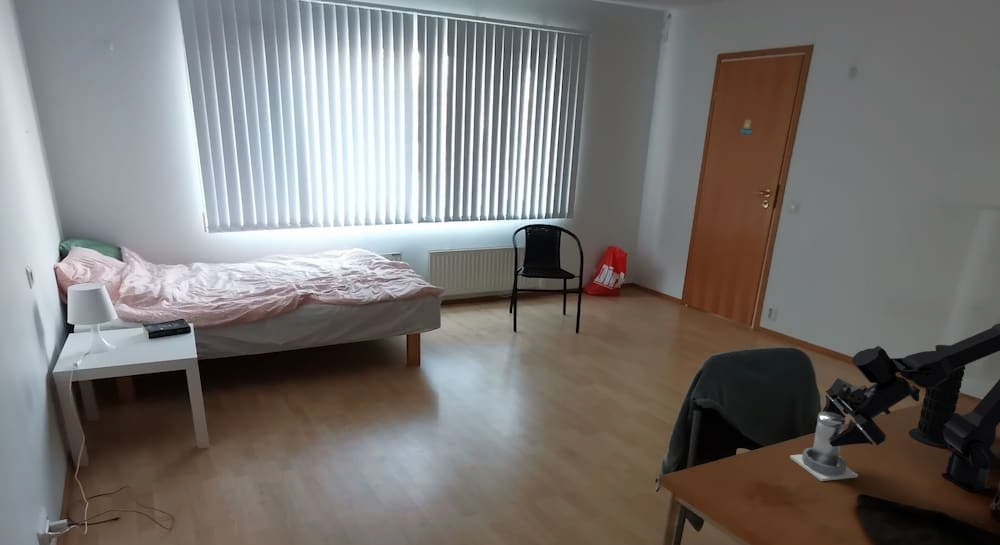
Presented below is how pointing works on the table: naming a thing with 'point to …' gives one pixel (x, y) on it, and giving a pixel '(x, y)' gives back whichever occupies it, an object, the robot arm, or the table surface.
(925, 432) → the handle grip
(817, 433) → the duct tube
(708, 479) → the table surface
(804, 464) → the flange collar
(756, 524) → the table surface
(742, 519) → the table surface
